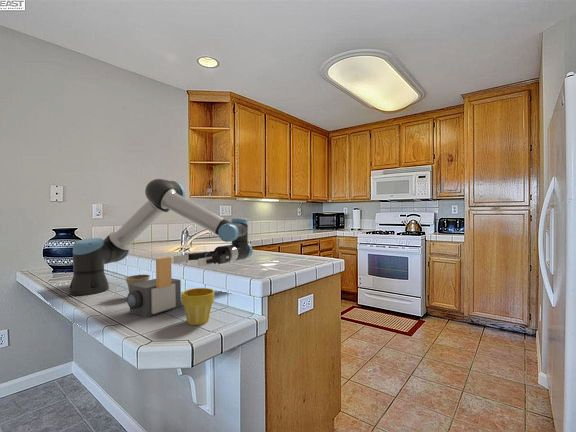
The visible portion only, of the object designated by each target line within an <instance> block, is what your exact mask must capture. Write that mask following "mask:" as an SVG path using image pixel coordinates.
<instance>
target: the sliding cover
mask: <svg viewBox="0 0 576 432" xmlns="http://www.w3.org/2000/svg"><path fill="white" fill-rule="evenodd" d="M171 278H172V257H171V256H165V257H159V258H155V279H156V288H153V289H151V305H152V314H155V313H158V312H161V311H164V310H167V309H170V308H173V307H176V294H175V284H172V280H171Z"/></svg>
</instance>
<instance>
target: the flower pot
mask: <svg viewBox="0 0 576 432" xmlns="http://www.w3.org/2000/svg"><path fill="white" fill-rule="evenodd" d="M150 277H151V275H150V274H135V275H134V274H133V275H128V276H126V277H125V279H124V280H126V283H127V289H128V290H129V284H134V283H138V282H143V281H147V280H150Z"/></svg>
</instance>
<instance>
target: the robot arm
mask: <svg viewBox="0 0 576 432" xmlns="http://www.w3.org/2000/svg"><path fill="white" fill-rule="evenodd" d="M144 192H145V198H146V199H147V201H146V202H144V204H143V205H142V206H141V207H140V208H139V209H138V210H137V211H136V212H135V213H134V214H133V215H132V216H131V217H130V218H129V219H128V220H127V221H126V222H125V223H124V224H123V225H122V226H121V227H120V228H119V229H118V230H117V231H112V232H110V233H109V234H108V235H107V236H106V237H105V238H104V239H103V238H102V237H101V238H100V237H92V238H91V237H90V238H84V239H81V240H77V241H75V242H73V245H72V267H73V273H72V275H73V276H72V279H71V282H70V284H69V287H68V294H69V295H72V296H85V295H93V294H94V295H95V294H100V293H103V292H106V291H108V290H109V289H110V283H109V282H108V278H107V276H106V273H105V265H106V264H111V263H118V262H119V261H122V260H124V259H125V258H126V257H128V255H129V253H130V249H131V248H132V243H133V242H134V241H135V240H136V239H137V238H138V237H140V235H141V234H143V232H144V231H145V230H146V229H147V228H148V227H150V225H151V224H152V223H153V222H155V220H156V219H158V217H159V216H161V215H162V214H163V213H169V211H172V212H173V213H175V214H177V215H179V216H181V217H183V218H185V219H187V220H189V221H190V222H192V223H195V224H196V225H198V226H200V227H202V228H203V229H205V230H207V231H209V232H211V233H213V234H215V235H217V236H218V237H219V238H220V240H222V241H223V242H226V243H230V242H231V244H226V245H221V246H217V247H215V248H214V250H212V251H211V250H210V251H203V252H201V251H200V252H191V253H184V254H182V255H175V256H173V264H180V263H185V262H186V263H188V262H189V261H197V267H204V266H209V265H212V264H214V265H216V264H218V265H222V264H227V263H229V264H231V263H232V262H236V261H240V260H246V259H248V258H250V257H251V256H252V255H253V247H252V245H251V243H249V239H248V236H249V235H248V234H249V232H248V231H249V229H248V228H249V224H248V219H247V218H246V217H234V218H233V217H232V219H231V220H230V221H229V220H228V219H225V218H224V217H222V216H220V215H218V214H217V213H214V212H212V211H210V209H209V210H208V209H207V208H205V207H203V206H201V205H200V204H198V203H195V202H193V201H192V200H190V199H189V198H186V190H185V188H184V186H183V185H182V184H181V183H180V182H177V181H174V180H169V179H168V180H166V179H162V178H155V179H152V180H151V181H149V182H148V183H147V185H146V186H145V190H144Z"/></svg>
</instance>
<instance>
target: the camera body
mask: <svg viewBox="0 0 576 432" xmlns="http://www.w3.org/2000/svg"><path fill="white" fill-rule="evenodd" d="M171 280H172V284H175V294H176V307H173V308H170V309H167V310H164V311H161V312H158V313H155V314H152V305H151V289H153V288H156V278H152V279H149V280H147V281H143V282H138V283H134V284H129V289H128V294H127V298H126V299H127V300H126V301H127V304H128V307H129V313H131V314H133V315H138V316H141V317H144V318H149V317H151V316H154V315H158V314H162V313H164V312H167V311H170V310H173V309H176V308H179V307H182V301H181V295H182V292H181V287H182V286H181V279H178V278H172V277H171Z"/></svg>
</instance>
